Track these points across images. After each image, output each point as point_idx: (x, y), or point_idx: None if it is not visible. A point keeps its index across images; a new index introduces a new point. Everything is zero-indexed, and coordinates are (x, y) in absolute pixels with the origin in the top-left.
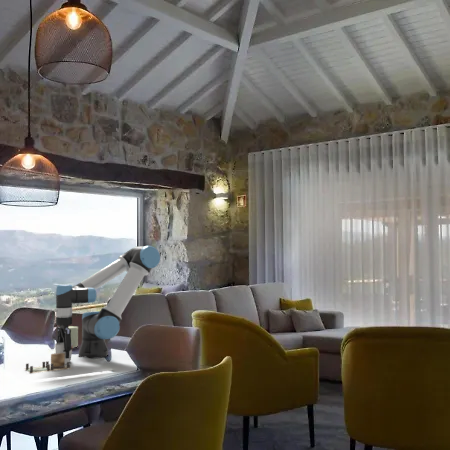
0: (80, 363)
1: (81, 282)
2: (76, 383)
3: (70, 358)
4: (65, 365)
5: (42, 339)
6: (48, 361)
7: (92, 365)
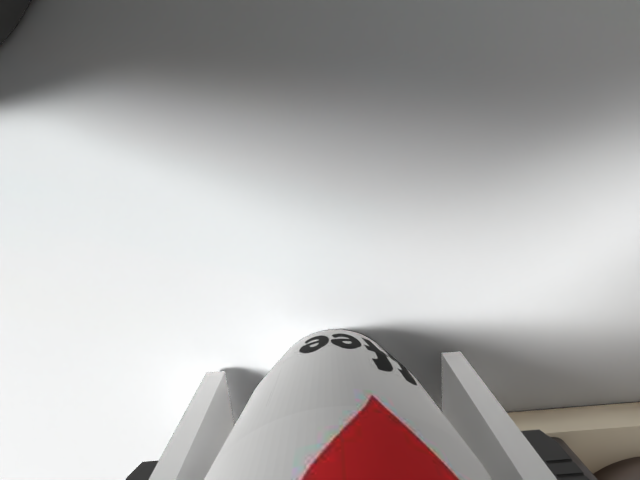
0: (382, 201)
1: None
2: None
3: (398, 366)
4: (586, 433)
5: None
6: None
7: (624, 91)
